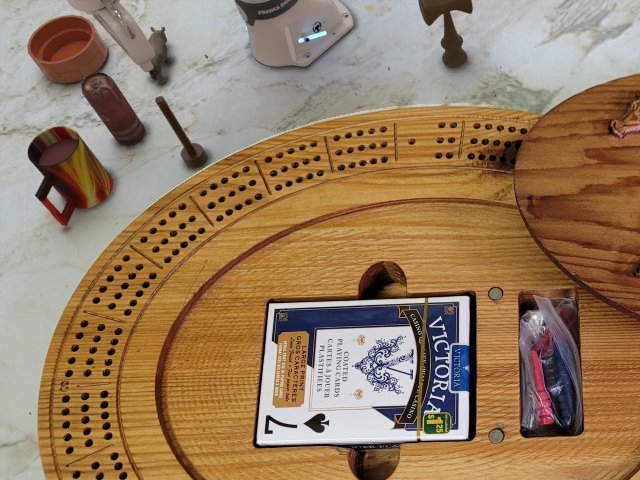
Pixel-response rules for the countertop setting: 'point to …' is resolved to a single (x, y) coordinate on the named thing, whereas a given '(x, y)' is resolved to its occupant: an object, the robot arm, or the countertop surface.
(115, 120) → the can
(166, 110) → the disc-capped wooden dowel
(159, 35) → the rhino figurine
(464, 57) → the kendama
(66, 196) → the mug
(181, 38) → the countertop surface
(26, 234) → the countertop surface
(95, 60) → the bowl
